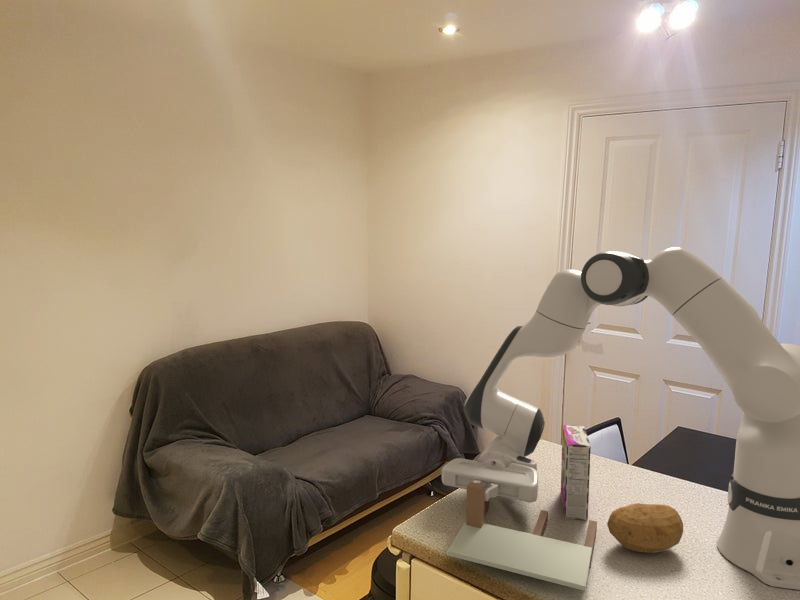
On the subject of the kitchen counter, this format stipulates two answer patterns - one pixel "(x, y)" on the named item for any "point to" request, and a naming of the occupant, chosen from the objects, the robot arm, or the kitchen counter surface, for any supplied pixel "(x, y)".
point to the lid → (518, 548)
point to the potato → (646, 527)
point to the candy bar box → (575, 471)
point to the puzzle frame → (542, 524)
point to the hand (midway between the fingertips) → (480, 496)
